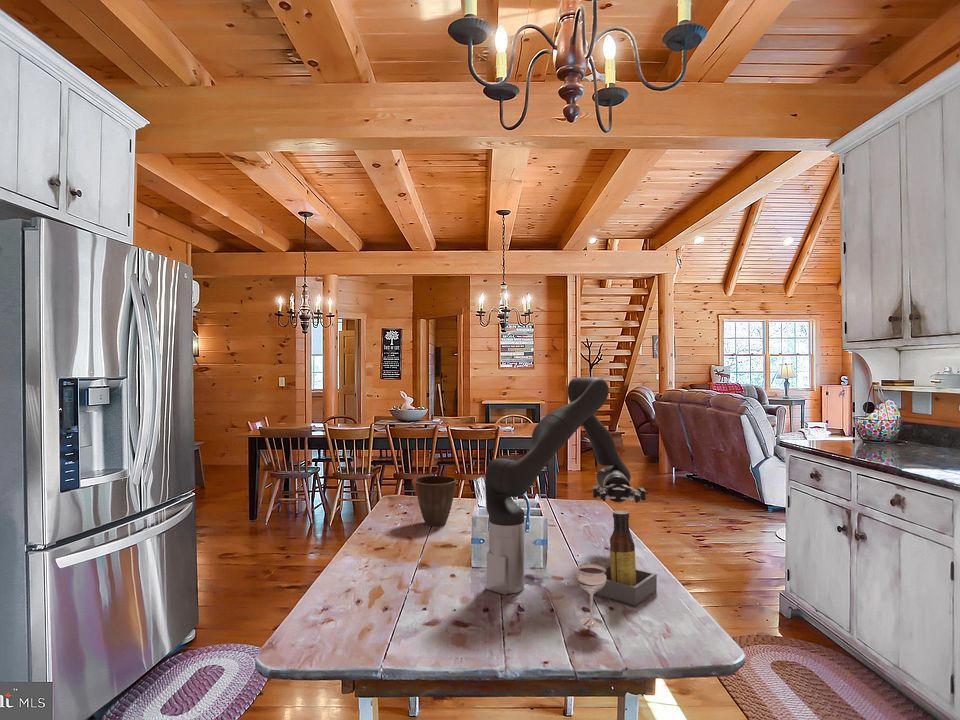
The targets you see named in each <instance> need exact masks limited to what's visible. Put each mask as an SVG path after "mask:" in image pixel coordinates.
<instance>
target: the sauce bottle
mask: <svg viewBox="0 0 960 720" xmlns="http://www.w3.org/2000/svg"><path fill="white" fill-rule="evenodd" d="M612 518H613V531H612V534H611V536H610V538H609V544H610V545H609V548H610V549H609V553H610V554H609V558H610V559H609V560H610V561H609V562H610V563H609V564H610V566H611V581H615V582H619V583H623V584H626V585H630V586H635V585H636V569H637V567H636V547H635V543H634V540H633V537H632V534H631V530H630V525H629V524H630V521H629V518H630V512H629V511H627V510H614V511H613V512H612Z"/></svg>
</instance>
